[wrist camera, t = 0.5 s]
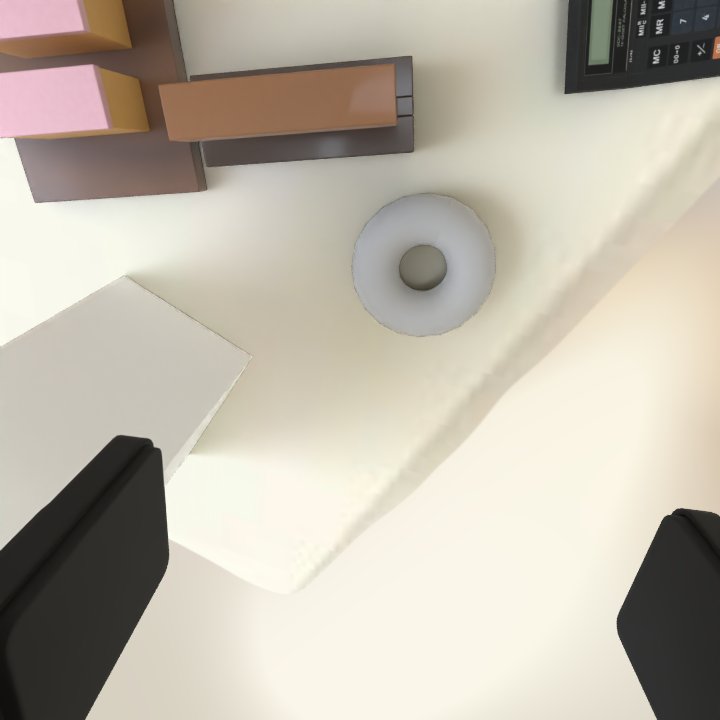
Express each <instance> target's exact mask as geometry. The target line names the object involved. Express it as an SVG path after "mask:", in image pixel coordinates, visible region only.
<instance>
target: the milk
mask: <svg viewBox="0 0 720 720" xmlns="http://www.w3.org/2000/svg"><path fill="white" fill-rule="evenodd" d="M251 358H252V356H251V355H249V354H247V353H246V352H244V351H243V350H241V349H240V348H238V347H236V346H235V345H233V344H232V343H230V342H228V341H227V340H225V339H224V338H222V337H221V336H219V335H217V334H216V333H214V332H213V331H211V330H210V329H208V328H206V327H205V326H203V325H202V324H200V323H198V322H197V321H195V320H194V319H192V318H191V317H189V316H187V315H186V314H184V313H183V312H181V311H179V310H178V309H176V308H175V307H173V306H172V305H170V304H168V303H167V302H165V301H164V300H162V299H160V298H159V297H157V296H156V295H154V294H153V293H151V292H149V291H148V290H146V289H145V288H143V287H141V286H140V285H138V284H137V283H135V282H134V281H132V280H130V279H129V278H127V277H126V276H122V277H120V278H119V279H117V280H115V281H113V282H112V283H110V284H108V285H106V286H105V287H103V288H101V289H100V290H98V291H96V292H94V293H93V294H91V295H89V296H87V297H86V298H84V299H82V300H81V301H79V302H77V303H75V304H74V305H72V306H70V307H68V308H67V309H65V310H63V311H62V312H60V313H58V314H56V315H55V316H53V317H51V318H50V319H48V320H46V321H44V322H43V323H41V324H39V325H37V326H36V327H34V328H32V329H31V330H29V331H27V332H25V333H24V334H22V335H20V336H18V337H17V338H15V339H13V340H12V341H10V342H8V343H6V344H5V345H3V346H1V347H0V550H1V549H2V548H3V547H4V546H5V545H6V544H7V543H8V542H9V541H10V540H11V539H12V538H13V537H14V536H15V535H16V534H17V533H18V532H19V531H20V530H21V529H22V528H23V527H24V526H25V525H26V524H27V523H28V522H29V521H30V520H31V519H32V518H33V517H34V516H35V515H36V514H37V513H38V512H39V511H40V510H41V509H42V508H44V507H45V506H46V505H47V504H49V503H50V502H51V501H52V500H53V499H54V498H55V497H56V496H57V495H58V494H59V493H60V492H61V491H62V490H63V489H64V488H65V487H66V486H67V485H68V484H69V482H70V481H71V480H72V479H73V478H74V477H75V476H76V475H77V474H78V473H79V472H80V471H81V470H82V469H83V468H84V467H85V466H86V465H87V464H88V463H89V462H90V461H91V460H92V459H93V458H94V457H95V456H96V455H97V454H98V453H99V452H100V451H101V450H102V449H103V448H104V447H105V446H106V445H107V444H108V443H109V442H110V441H111V440H112V439H113V438H114V437H116V436H117V435H126V436H134V437H142V438H149V439H151V440H152V442H153V445H154V447H157V448H160V450H161V452H162V461H163V475H164V487H165V486H166V484H167V483H168V482H169V480H170V479H171V478H172V476H173V475H174V474H175V472H176V471H177V470H178V468H179V467H180V466H181V464H182V463H183V461H184V460H185V459H186V457H187V456H188V455H189V453H190V452H191V450H192V449H193V447H194V446H195V444H196V442H197V441H198V439H199V438H200V436H201V435H202V433H203V432H204V430H205V429H206V427H207V426H208V424H209V423H210V421H211V420H212V418H213V416H214V415H215V413H216V412H217V410H218V409H219V407H220V406H221V404H222V403H223V401H224V400H225V398H226V397H227V395H228V394H229V392H230V391H231V389H232V387H233V386H234V384H235V383H236V381H237V380H238V378H239V377H240V375H241V374H242V372H243V371H244V369H245V368H246V366H247V365H248V363H249V361H250V360H251Z"/></svg>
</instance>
